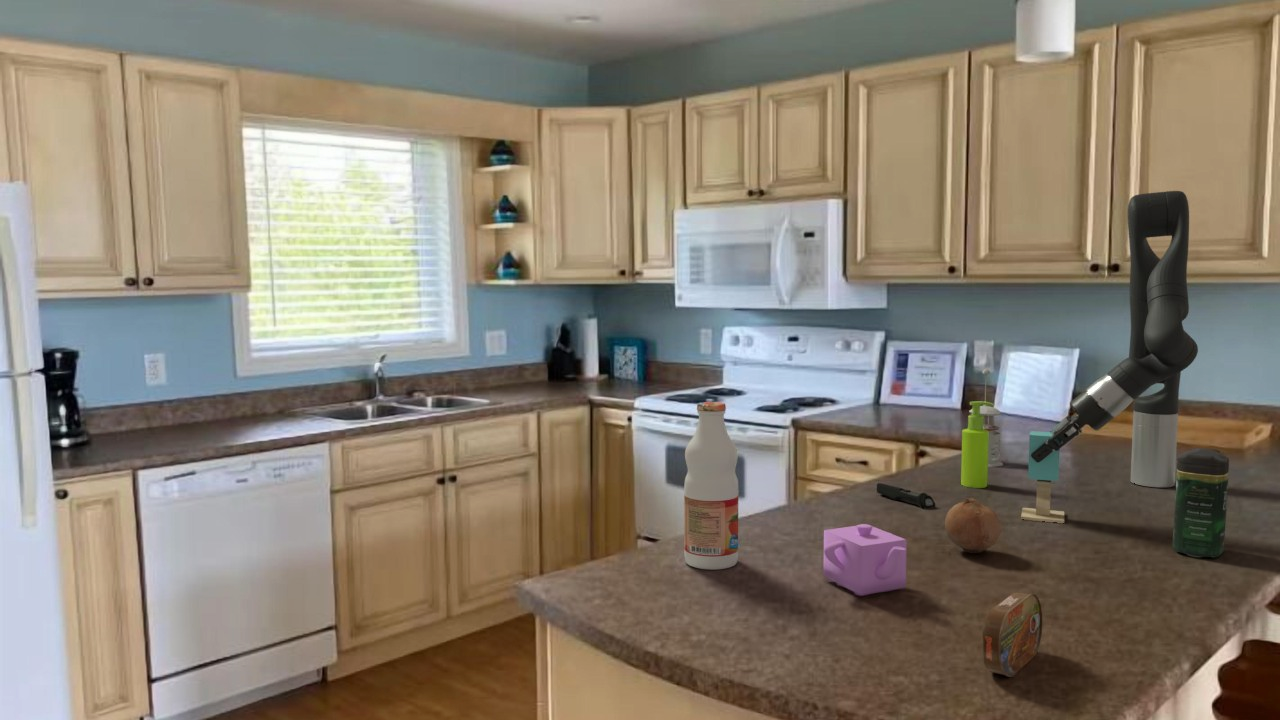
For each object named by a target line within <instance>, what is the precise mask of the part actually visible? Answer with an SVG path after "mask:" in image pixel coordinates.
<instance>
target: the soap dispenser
mask: <svg viewBox="0 0 1280 720" xmlns="http://www.w3.org/2000/svg"><path fill="white" fill-rule="evenodd" d="M969 405H970V406H971V407H972V408H971V409H972V414H971V413H970V414H969V415H968V417H967V428H964V429H962V431H961V432H962V433H961V467H960V469H961V470H960V485H961V486H962V485H963V486H962V487H966V488H971V487H972V488H974V489H983V488H986V487H988V474H989V473H988V472H989V471H988V470H989V469H988V468H989V467H988V442H989V431H987V430H984V429H983V424H984V420H983V419H984V416H982V415H981V414H980V406H983V405H987V406H990V407H994V406H995V403H993V402H990V401H986V402H985V400H984V401H983V400H980V401H978V400H977V401H969Z"/></svg>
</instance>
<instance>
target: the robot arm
mask: <svg viewBox="0 0 1280 720" xmlns="http://www.w3.org/2000/svg"><path fill="white" fill-rule="evenodd" d="M1127 229H1128V230H1127V231H1128V241H1129V242H1128V243H1129V255H1130V256H1129V257H1130V258H1129V259H1130V267H1129V268H1130V269H1129V270H1130V271H1129V273H1130V274H1129V311H1130V313H1129V315H1130V338H1129V349H1128V357H1127V358H1125V359H1123V360H1122V361H1121V362H1118V364H1117V365H1115V366H1114V367H1113V368H1112V369H1111V370H1110V371H1108V372H1107V373H1105V374H1104V375H1103V376H1101V377H1100V378H1098V379H1097V380H1096V381H1094V382H1093V383H1092V384H1090V385H1089V386H1088V387H1087V388H1086V389H1084V391H1082V392H1081V393H1080V394H1078V395H1077V396H1076V397H1075V398H1073V399H1072V400H1071V401H1070V402H1069V406H1070V407H1071V409H1072V410H1073V411H1074V412H1075V414H1074V415H1065V417H1063V419H1062V420H1061V421H1060V422H1059V423H1058V424H1056V425H1055V426H1054V427H1053V428H1052V430H1051V431H1049V432H1052V437H1050V438H1049V439H1048V440H1046V442H1045V443H1044V444H1043V445H1041V446H1040V447H1039V448H1038V449H1037V450H1035V451H1034V452H1033V453H1032V454H1031V457H1032V458H1033V459H1034V460H1035V461H1036V462H1038V463H1039V462H1041V461H1042V460H1043V459H1044V458H1045V457H1047V456H1048V455H1049V454H1050V453H1052V452H1054V451H1057V450H1059V449H1061V448H1062V447H1064V446H1066V445H1068V444H1069V443H1070V442H1071V441H1072V440H1074V438H1076V437H1077V438H1078V437H1079V436H1080V435H1081V434H1082V433H1083V432H1082V431H1083V428H1084V427H1085V426H1086V425H1087V426H1089V427H1090V428H1091V429H1092V430H1094V431H1099V430H1101V429H1102V428H1103V427H1105V426H1106V425H1107V424H1108V423H1110V422H1111V421H1112V420H1113V419H1114V418H1115V417H1117V416H1118V415H1120V414H1121V413H1122V412H1123V411H1124V410H1126V409H1127V408H1128V406H1129V405H1130V404H1131V403H1132V402H1133V401H1134V402H1133V413H1132V414H1133V415H1132V416H1133V418H1132V437H1131V438H1132V439H1131V461H1130V463H1131V464H1130V482H1131V483H1132V484H1134V483H1135V485H1139V486H1144V487H1150V488H1151V487H1152V488H1171V487H1174V486H1176V470H1177V448H1178V447H1177V446H1178V445H1177V441H1178V424H1179V423H1178V421H1179V420H1178V418H1179V395H1180V394H1179V393H1180V392H1179V390H1180V383H1181V374H1182V371H1184V370H1186V369H1187V368H1188V367H1189V366H1190V365H1191V364H1192V363H1193V362H1194V361H1195V360H1196V357H1197V355H1198V353H1199V347H1198V344H1197V342H1196V341H1195V339H1193V338H1192V337H1191V335H1189V333H1188V332H1187V331H1185V330H1184V326H1183V321H1184V320H1186V319H1187V317H1188V315H1189V311H1190V310H1189V309H1190V305H1189V293H1188V292H1189V291H1188V282H1187V275H1188V272H1187V271H1188V270H1187V269H1188V260H1189V259H1188V257H1189V239H1190V207H1189V200H1188V196H1187V195H1186V193H1184V191H1181V190H1167V191H1160V192H1159V191H1157V192H1149V193H1147V192H1146V193H1140V194H1136V195H1133V196H1132V197H1131V198H1130V200H1129V202H1128V205H1127ZM1158 237H1159V238H1160V237H1171V240H1170V243H1169V246H1168V248H1167V249H1166V251H1165V252H1164V254H1163V256H1162V257H1161V258H1160V257H1159V256H1158V255H1157V254H1156V253H1155V252H1154V250H1153V248H1152V247H1151V246H1150V244H1149V242H1148V240H1147V238H1148V239H1149V238H1158ZM1157 384H1161V385H1163V388H1162V389H1160V390H1159V391H1156V392H1155V393H1152V394H1149V395H1145V396H1141V395H1142V394H1143V393H1145V392H1146V391H1147V390H1149V389H1150V388H1151V387H1152V386H1154V385H1157ZM1139 396H1141V397H1139ZM1056 438H1057V439H1058V440H1059V441H1060V443H1059V444H1057V443H1056V442H1055V441H1054V439H1056Z"/></svg>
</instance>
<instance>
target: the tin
mask: <svg viewBox="0 0 1280 720" xmlns="http://www.w3.org/2000/svg"><path fill="white" fill-rule="evenodd" d="M1042 633H1043V610H1042V604H1041V600H1040V599H1039V597H1038V595H1037V594H1035V593H1024V592H1017V591H1016V592H1013V593H1011V594H1009V595H1008V596H1007V597H1005V598H1004V599H1003V600H1001V601H1000V602H999V603H998V604H996V605H995V606H993V607H992V608H991V609H989V611H988V612H987V615H986V616H985V619H984V622H983V625H982V631H981V634H982V635H981V636H982V637H981V638H982V655H983V657H982V658H983V660H982V661H983V665H984V666H985V668H986V670H987V671H989V672H990V673H993V674H997V675H1002V676H1005V677H1008V678H1012V677H1014V676H1016V674H1017V673H1018V672H1019V671H1021V669H1023V668H1024V666H1026V664H1028V663H1029V662H1030V661H1031V660H1033V659H1034V657H1035V656H1036V654H1037V652H1038V650H1039V648H1040V644H1041V639H1042V635H1043V634H1042Z"/></svg>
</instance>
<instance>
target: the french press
mask: <svg viewBox="0 0 1280 720" xmlns="http://www.w3.org/2000/svg"><path fill="white" fill-rule="evenodd" d="M982 374H983V375H985V378H984V379H985V382H984V384H985V385H984V402H987V401H986V400H987V399H986V398H987V375H990V374H991V371H990V370H989V369H988V368H986V369H983V370H982ZM968 411H969V414H970V415H971V414H972V408H971V409H970V410H968ZM980 414H981V416H983V417H984V419H983V429H984V430H987V431H989V442H988V468H989V467H990V468H994V467H1001V466H1003V465H1004V463H1003V462H1002V460H1001V459H1000V457H1001V455H1000V453H1001V433H1000V432H998V430H999V429H1000V427H999V426H997V425H990V417H993V416H995V417H996V416H1001V414H1002V411H1000V410H999V409H997V408H996V407H994V406H989V405H980ZM986 416H987V419H986ZM986 421H987V424H986Z"/></svg>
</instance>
